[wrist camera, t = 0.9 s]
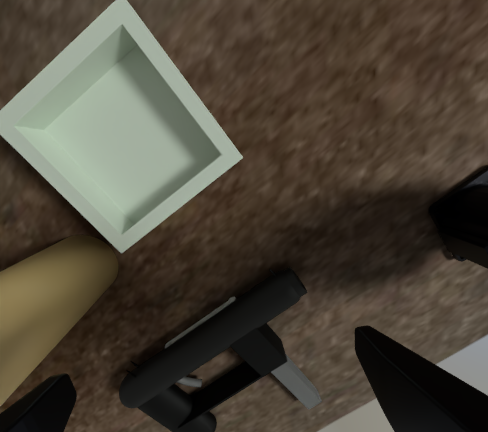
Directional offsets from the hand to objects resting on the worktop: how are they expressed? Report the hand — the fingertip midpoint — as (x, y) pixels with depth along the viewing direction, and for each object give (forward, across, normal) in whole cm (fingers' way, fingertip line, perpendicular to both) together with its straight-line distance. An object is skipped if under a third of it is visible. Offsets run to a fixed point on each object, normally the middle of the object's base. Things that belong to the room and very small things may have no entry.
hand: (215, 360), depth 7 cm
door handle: (+14, 0, +14) cm, 20 cm away
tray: (+13, +5, -8) cm, 16 cm away
